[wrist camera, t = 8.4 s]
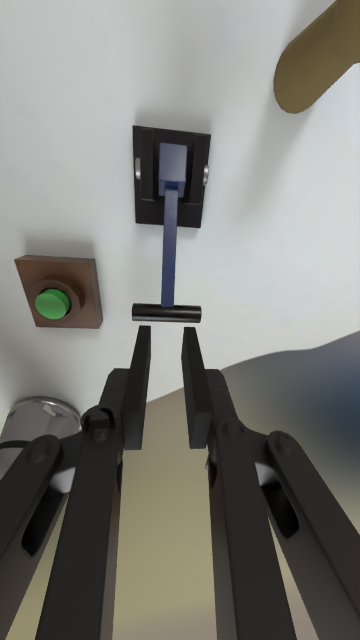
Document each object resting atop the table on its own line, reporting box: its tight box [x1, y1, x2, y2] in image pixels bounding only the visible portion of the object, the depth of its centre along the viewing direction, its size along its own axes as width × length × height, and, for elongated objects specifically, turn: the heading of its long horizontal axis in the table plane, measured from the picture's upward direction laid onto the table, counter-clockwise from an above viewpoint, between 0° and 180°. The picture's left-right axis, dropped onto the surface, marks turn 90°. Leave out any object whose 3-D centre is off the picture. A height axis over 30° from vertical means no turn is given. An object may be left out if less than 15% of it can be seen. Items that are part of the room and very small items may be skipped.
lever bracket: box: [133, 125, 211, 228], centre depth 21 cm, size 10×9×13 cm
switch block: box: [14, 255, 103, 329], centre depth 31 cm, size 11×10×4 cm
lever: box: [132, 143, 201, 323], centre depth 18 cm, size 14×6×2 cm, turn 176°
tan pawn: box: [274, 0, 360, 114], centre depth 18 cm, size 6×6×11 cm
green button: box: [35, 289, 70, 319], centre depth 29 cm, size 4×4×2 cm
